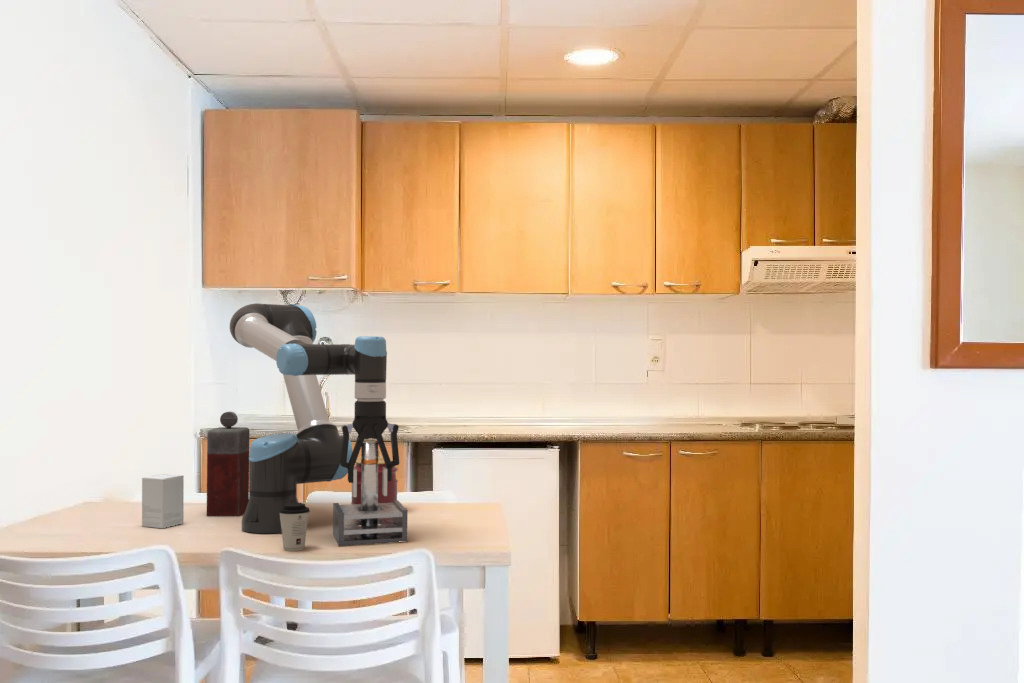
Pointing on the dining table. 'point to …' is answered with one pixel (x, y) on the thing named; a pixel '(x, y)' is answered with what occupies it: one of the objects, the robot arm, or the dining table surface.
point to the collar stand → (389, 529)
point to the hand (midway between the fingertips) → (369, 495)
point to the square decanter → (227, 468)
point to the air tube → (369, 481)
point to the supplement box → (162, 500)
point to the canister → (390, 484)
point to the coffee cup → (294, 525)
